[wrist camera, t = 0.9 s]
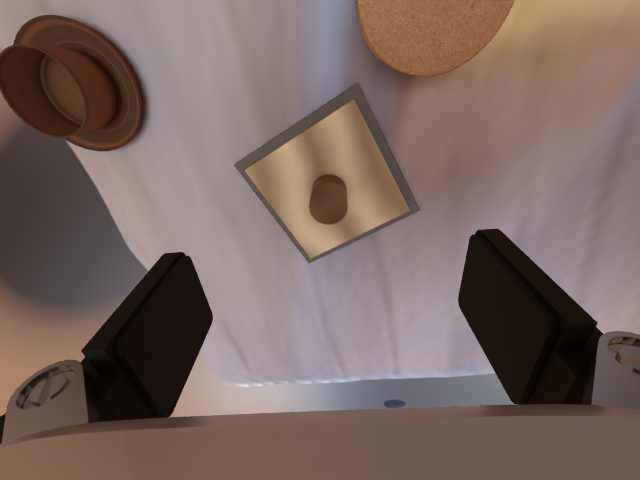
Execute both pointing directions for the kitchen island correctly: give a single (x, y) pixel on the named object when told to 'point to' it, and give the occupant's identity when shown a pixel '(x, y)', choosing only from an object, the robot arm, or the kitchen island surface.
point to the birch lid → (329, 182)
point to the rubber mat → (308, 122)
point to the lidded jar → (429, 31)
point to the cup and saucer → (70, 84)
